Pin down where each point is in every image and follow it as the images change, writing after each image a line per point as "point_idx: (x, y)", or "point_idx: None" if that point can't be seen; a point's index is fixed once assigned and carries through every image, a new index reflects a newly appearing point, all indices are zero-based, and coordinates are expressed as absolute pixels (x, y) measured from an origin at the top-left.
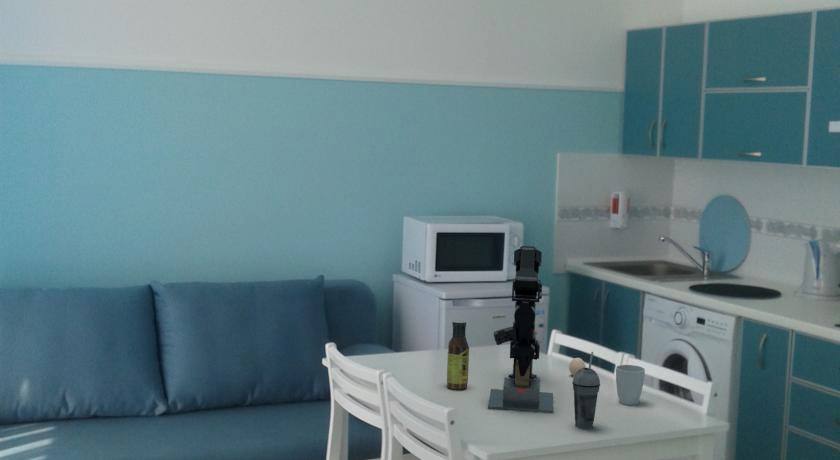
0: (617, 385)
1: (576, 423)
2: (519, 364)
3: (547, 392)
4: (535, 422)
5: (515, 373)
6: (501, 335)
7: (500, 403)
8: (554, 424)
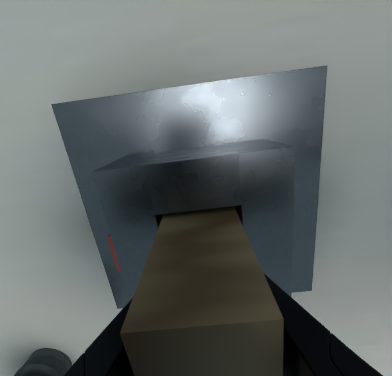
0: None
1: (27, 361)
2: (76, 370)
3: (311, 276)
4: (12, 269)
5: (148, 259)
6: None
7: (115, 148)
8: (26, 310)
